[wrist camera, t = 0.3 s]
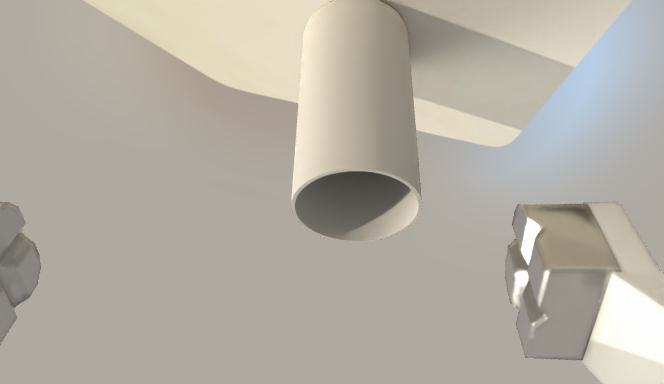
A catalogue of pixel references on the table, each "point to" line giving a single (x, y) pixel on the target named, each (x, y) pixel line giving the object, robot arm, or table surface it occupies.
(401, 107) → the cylinder vase
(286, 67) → the table surface
